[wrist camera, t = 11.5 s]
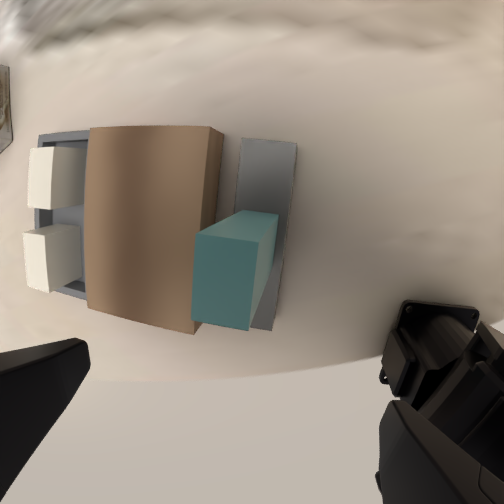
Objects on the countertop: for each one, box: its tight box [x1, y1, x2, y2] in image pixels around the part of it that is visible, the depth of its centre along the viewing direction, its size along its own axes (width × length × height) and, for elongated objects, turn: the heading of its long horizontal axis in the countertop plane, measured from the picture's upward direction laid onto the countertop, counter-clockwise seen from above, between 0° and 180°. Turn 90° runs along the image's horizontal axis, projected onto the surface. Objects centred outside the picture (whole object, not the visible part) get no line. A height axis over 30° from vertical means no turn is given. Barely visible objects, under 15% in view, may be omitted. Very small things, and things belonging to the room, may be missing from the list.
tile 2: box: [23, 224, 82, 293], centre depth 20 cm, size 4×4×2 cm
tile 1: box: [28, 147, 87, 210], centre depth 18 cm, size 4×4×2 cm
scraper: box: [191, 138, 297, 331], centre depth 15 cm, size 3×11×10 cm, turn 174°
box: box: [35, 130, 90, 300], centre depth 20 cm, size 6×12×2 cm, turn 174°
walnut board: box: [84, 126, 224, 335], centre depth 19 cm, size 8×12×3 cm, turn 174°
